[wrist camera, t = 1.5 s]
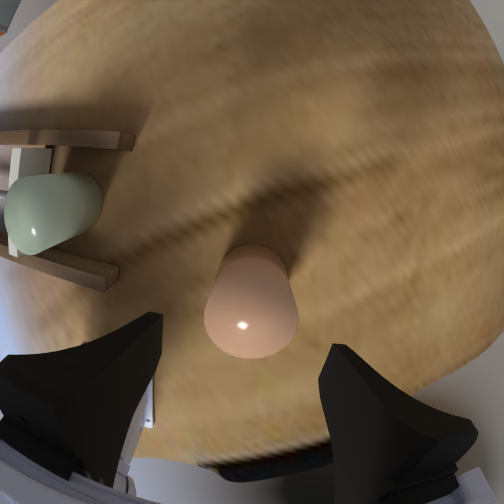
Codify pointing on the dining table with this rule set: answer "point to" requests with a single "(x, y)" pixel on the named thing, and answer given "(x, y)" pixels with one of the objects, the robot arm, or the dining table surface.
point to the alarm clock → (7, 13)
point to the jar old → (50, 209)
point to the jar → (251, 304)
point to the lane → (53, 259)
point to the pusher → (26, 173)
